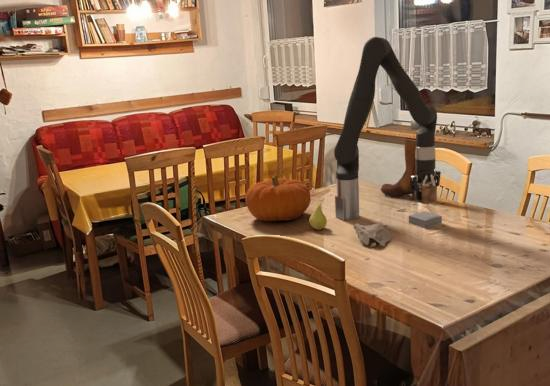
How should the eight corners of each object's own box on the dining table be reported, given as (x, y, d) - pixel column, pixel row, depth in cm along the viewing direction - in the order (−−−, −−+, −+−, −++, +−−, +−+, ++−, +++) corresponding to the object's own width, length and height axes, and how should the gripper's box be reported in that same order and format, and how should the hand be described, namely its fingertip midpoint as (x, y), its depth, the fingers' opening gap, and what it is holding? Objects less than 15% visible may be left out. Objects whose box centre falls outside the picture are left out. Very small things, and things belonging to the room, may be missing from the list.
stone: (346, 249, 209) (381, 260, 199) (343, 231, 204) (378, 241, 195) (367, 226, 218) (401, 235, 208) (364, 209, 213) (399, 217, 204)
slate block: (425, 229, 216) (425, 220, 215) (408, 223, 224) (408, 215, 223) (441, 224, 220) (441, 216, 219) (425, 219, 228) (425, 211, 227)
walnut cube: (425, 204, 216) (425, 189, 214) (414, 200, 221) (414, 186, 219) (436, 201, 218) (436, 186, 217) (426, 198, 223) (426, 183, 222)
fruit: (306, 229, 223) (305, 201, 220) (318, 224, 229) (316, 196, 226) (319, 232, 219) (318, 203, 216) (331, 227, 224) (330, 199, 221)
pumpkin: (261, 233, 223) (257, 185, 218) (237, 216, 248) (234, 172, 243) (323, 220, 234) (321, 174, 229) (294, 205, 259) (292, 163, 254)
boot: (377, 195, 266) (376, 140, 259) (390, 191, 271) (389, 137, 265) (421, 204, 247) (421, 145, 240) (433, 199, 252) (434, 141, 245)
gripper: (432, 153, 221) (432, 193, 226) (404, 158, 215) (405, 200, 219) (446, 155, 215) (445, 197, 219) (417, 161, 209) (418, 204, 213)
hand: (425, 198), depth 219 cm, fingers closed on walnut cube, 6 cm apart
